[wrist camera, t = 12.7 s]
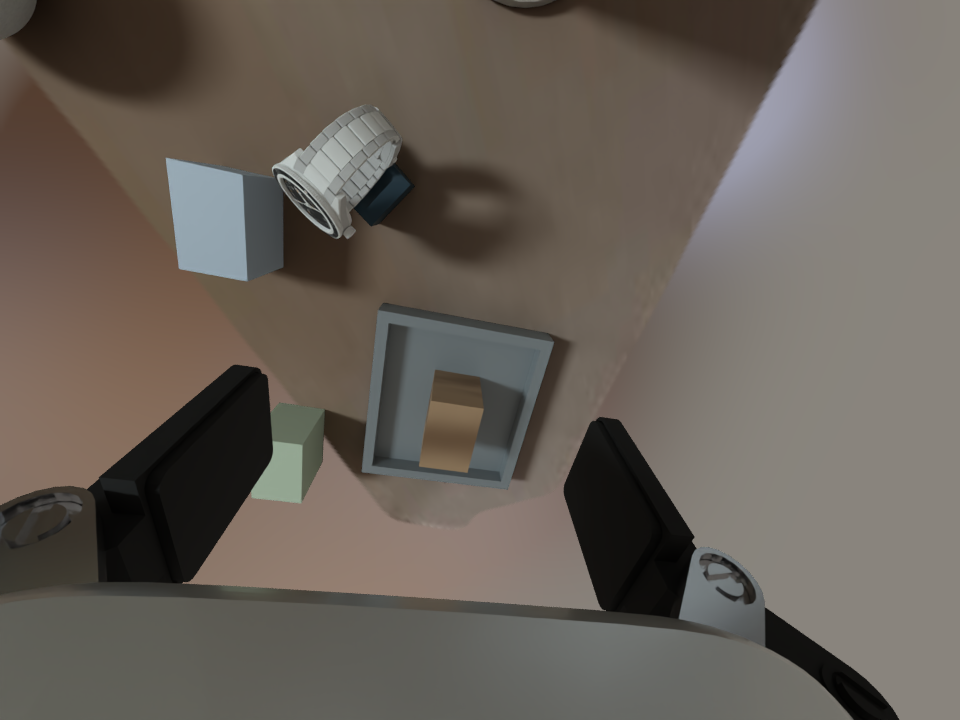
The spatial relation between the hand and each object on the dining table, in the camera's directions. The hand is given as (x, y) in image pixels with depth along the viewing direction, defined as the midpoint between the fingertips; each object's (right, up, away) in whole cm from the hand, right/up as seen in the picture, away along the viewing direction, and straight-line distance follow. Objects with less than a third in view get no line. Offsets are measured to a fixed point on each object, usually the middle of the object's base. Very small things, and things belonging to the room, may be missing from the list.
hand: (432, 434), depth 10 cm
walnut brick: (-2, -2, +26) cm, 26 cm away
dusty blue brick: (-17, +14, +19) cm, 29 cm away
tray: (-2, -2, +27) cm, 27 cm away
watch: (-7, +17, +18) cm, 26 cm away
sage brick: (-18, -6, +28) cm, 33 cm away
